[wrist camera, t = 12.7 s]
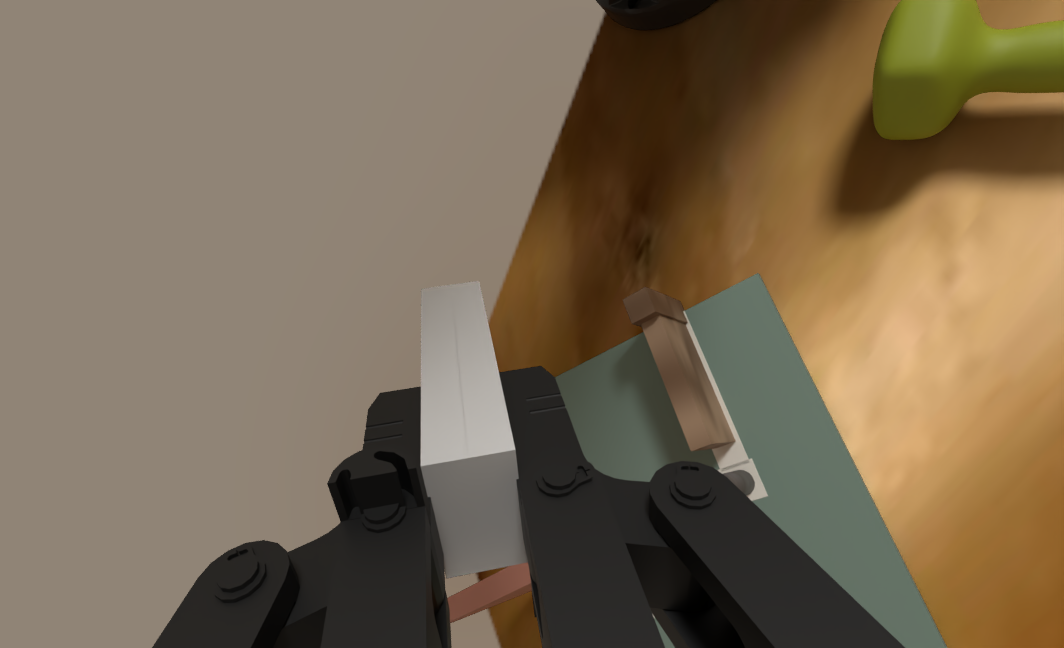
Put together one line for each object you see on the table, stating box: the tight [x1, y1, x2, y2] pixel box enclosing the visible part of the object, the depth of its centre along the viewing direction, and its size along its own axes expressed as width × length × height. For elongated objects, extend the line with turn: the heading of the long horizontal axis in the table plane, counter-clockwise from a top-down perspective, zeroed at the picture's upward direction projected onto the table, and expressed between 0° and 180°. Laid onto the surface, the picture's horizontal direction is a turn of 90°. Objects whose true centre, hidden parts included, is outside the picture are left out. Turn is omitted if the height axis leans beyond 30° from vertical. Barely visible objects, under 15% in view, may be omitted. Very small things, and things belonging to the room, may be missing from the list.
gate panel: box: [447, 562, 532, 623], centre depth 34 cm, size 14×1×13 cm, turn 117°
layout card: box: [555, 273, 947, 648], centre depth 37 cm, size 29×24×1 cm
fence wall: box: [623, 287, 755, 495], centre depth 36 cm, size 14×2×6 cm, turn 20°
